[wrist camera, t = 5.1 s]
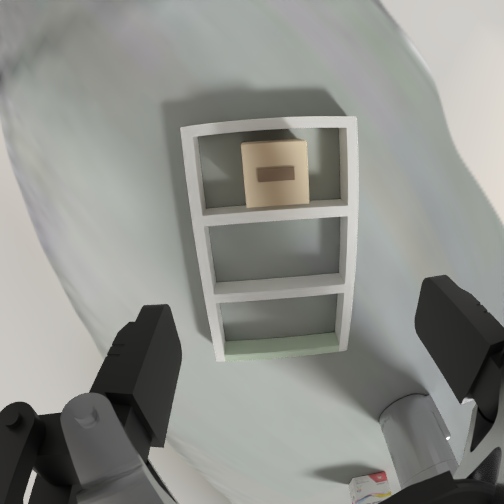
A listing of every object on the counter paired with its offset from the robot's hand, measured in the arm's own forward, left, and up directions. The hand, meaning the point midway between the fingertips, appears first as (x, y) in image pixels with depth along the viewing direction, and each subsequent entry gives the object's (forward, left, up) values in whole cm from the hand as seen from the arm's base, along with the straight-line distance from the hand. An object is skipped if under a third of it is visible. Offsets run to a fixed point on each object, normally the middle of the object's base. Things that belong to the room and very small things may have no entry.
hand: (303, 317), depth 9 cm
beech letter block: (-1, -2, -21) cm, 21 cm away
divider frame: (-1, +6, -21) cm, 22 cm away
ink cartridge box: (-21, +67, -21) cm, 73 cm away
